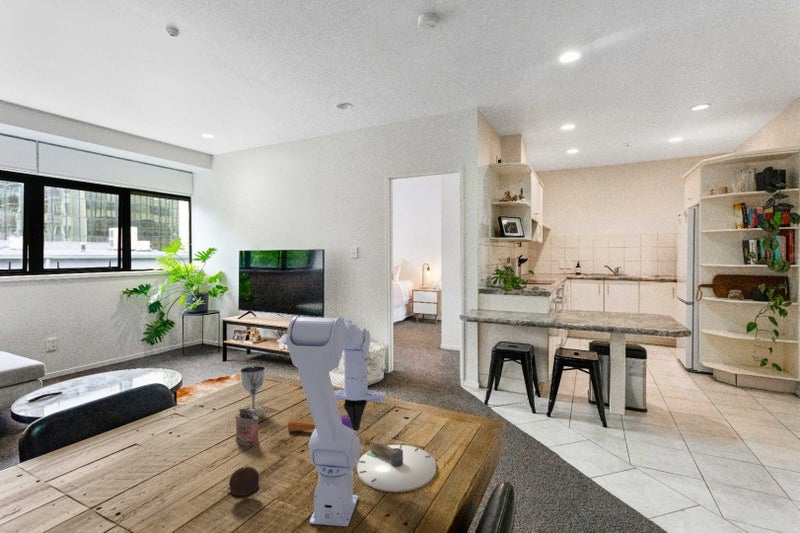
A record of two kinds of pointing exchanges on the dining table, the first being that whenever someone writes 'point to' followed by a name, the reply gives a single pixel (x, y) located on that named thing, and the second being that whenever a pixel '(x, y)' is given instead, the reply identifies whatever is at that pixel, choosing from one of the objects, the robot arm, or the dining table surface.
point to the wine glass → (253, 382)
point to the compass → (243, 481)
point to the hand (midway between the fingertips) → (356, 428)
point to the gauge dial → (397, 470)
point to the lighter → (247, 427)
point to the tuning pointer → (387, 452)
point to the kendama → (307, 426)
